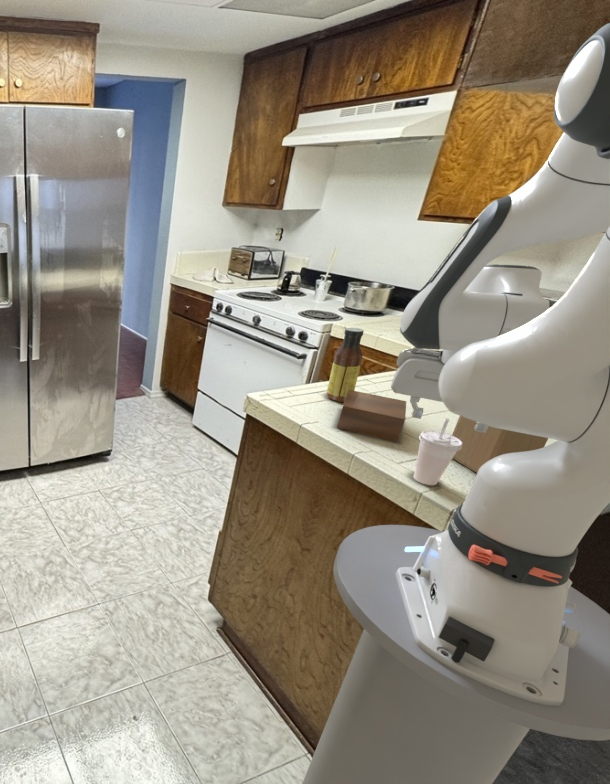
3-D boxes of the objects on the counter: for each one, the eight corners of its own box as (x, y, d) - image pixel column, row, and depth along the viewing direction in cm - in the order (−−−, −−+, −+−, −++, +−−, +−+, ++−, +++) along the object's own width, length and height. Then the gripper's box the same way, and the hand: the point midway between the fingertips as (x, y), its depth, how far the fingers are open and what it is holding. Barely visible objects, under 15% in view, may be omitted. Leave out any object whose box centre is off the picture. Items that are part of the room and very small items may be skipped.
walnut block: (397, 442, 108) (405, 419, 106) (336, 427, 115) (342, 405, 112) (398, 422, 117) (406, 401, 114) (342, 410, 123) (348, 389, 121)
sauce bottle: (352, 397, 131) (372, 328, 123) (350, 405, 126) (371, 334, 118) (325, 391, 134) (343, 324, 126) (322, 399, 130) (341, 330, 122)
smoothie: (397, 475, 96) (420, 414, 90) (418, 468, 98) (441, 408, 92) (431, 492, 91) (457, 429, 85) (453, 485, 93) (479, 422, 87)
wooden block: (484, 451, 104) (521, 368, 95) (531, 477, 95) (577, 387, 86) (441, 454, 103) (475, 369, 95) (485, 480, 94) (527, 389, 86)
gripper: (401, 350, 87) (379, 415, 93) (558, 373, 76) (522, 446, 82) (402, 341, 92) (381, 403, 98) (550, 362, 80) (516, 431, 86)
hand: (446, 423), depth 89 cm, fingers open, 8 cm apart
